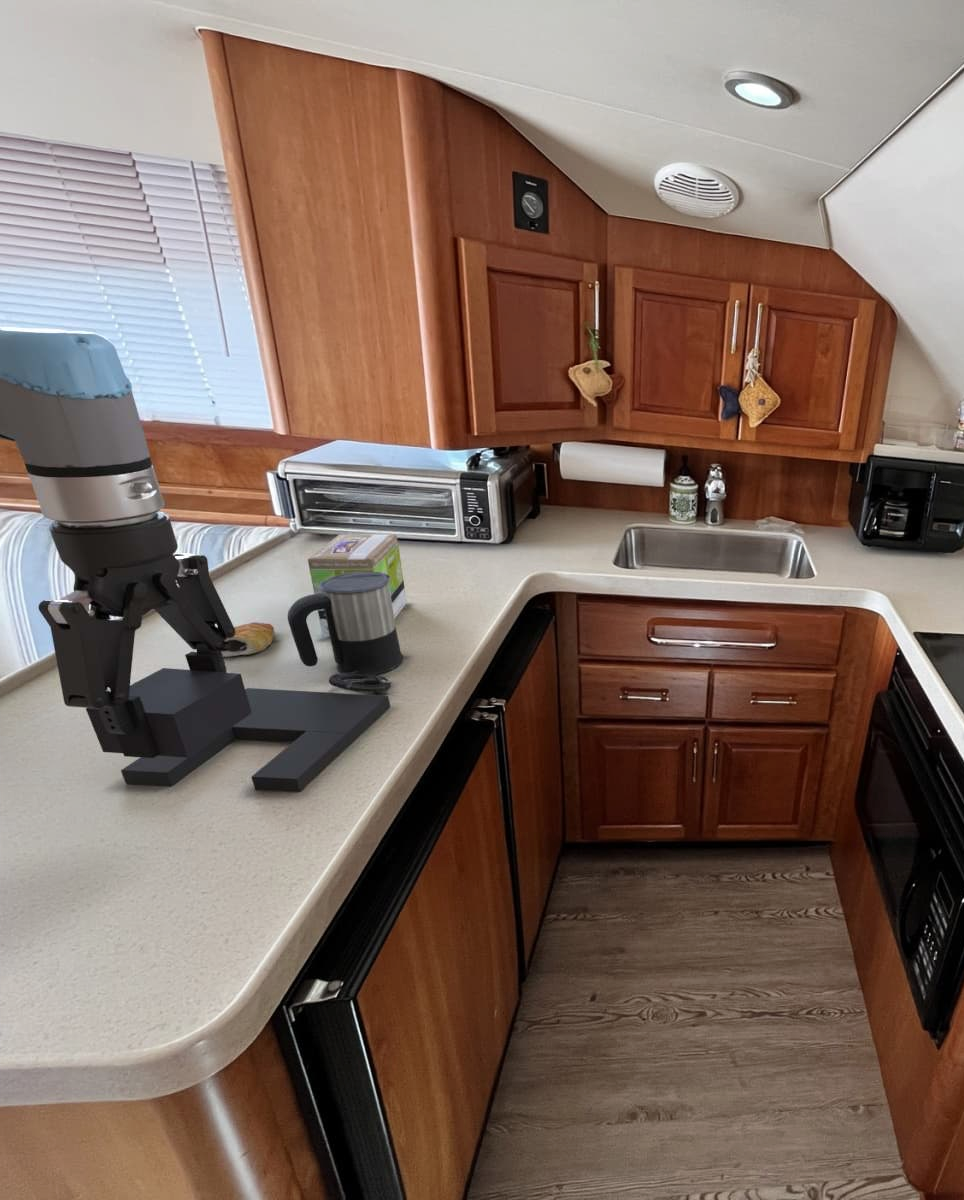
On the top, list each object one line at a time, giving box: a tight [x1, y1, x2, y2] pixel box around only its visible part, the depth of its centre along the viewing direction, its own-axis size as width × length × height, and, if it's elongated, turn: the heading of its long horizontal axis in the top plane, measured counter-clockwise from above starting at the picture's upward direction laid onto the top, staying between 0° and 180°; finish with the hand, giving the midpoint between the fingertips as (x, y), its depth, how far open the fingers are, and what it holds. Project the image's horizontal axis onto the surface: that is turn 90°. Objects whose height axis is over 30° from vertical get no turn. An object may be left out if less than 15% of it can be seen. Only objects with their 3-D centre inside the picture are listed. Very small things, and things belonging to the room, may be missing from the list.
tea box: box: [307, 533, 407, 637], centre depth 116 cm, size 15×10×15 cm, turn 17°
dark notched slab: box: [120, 687, 391, 793], centre depth 84 cm, size 20×19×2 cm
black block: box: [85, 667, 252, 758], centre depth 64 cm, size 8×8×5 cm
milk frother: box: [287, 571, 405, 695], centre depth 98 cm, size 14×16×15 cm
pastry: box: [221, 621, 275, 658], centre depth 106 cm, size 9×7×4 cm
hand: (182, 729), depth 65 cm, fingers closed on black block, 8 cm apart
